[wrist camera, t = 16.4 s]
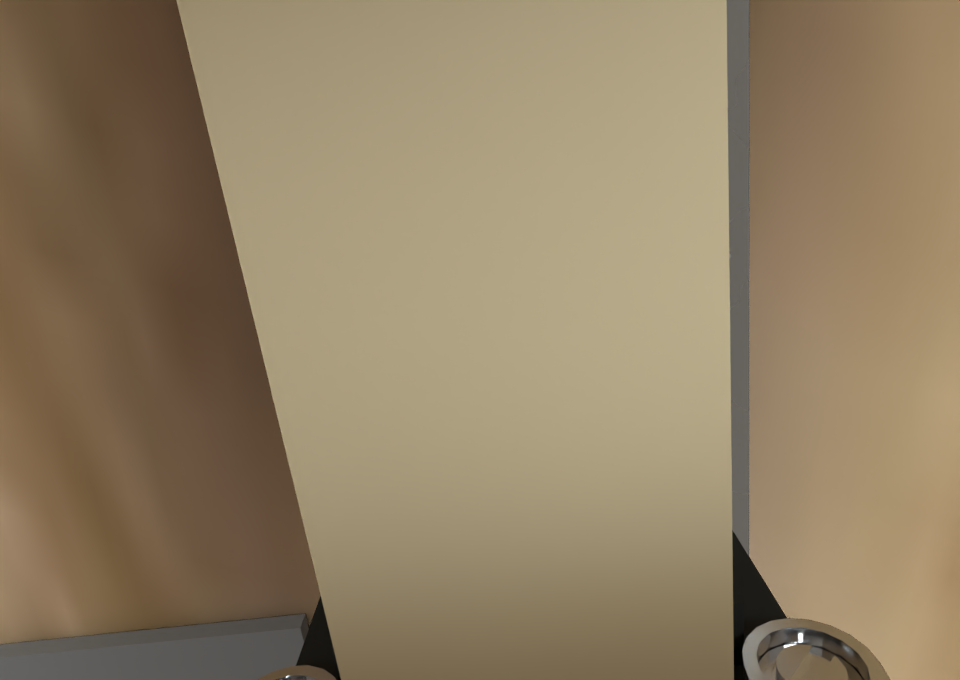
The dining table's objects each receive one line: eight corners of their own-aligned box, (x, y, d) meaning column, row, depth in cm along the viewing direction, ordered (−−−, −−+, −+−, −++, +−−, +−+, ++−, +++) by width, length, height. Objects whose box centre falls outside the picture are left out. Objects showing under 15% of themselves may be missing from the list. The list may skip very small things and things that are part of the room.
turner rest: (175, -103, 12) (149, -123, 11) (727, -188, 11) (749, -217, 10) (383, 780, 19) (378, 815, 18) (734, 749, 18) (748, 783, 17)
